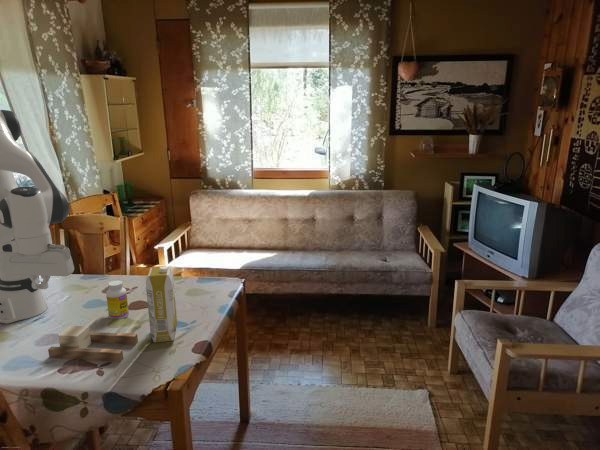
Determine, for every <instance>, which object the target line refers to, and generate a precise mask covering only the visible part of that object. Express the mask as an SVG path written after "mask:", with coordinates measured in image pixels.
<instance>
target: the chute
mask: <svg viewBox="0 0 600 450" xmlns="http://www.w3.org/2000/svg"><path fill="white" fill-rule="evenodd" d="M90 338H91V343H97V344H114V345H115V344H116V345H132V346H133V345H135V346H136V345H137V344H138V343H139V338H138V333H132V332H117V333H116V332H103V331H102V332H100V331H90ZM47 352H48V357H49V359H67V360H80V361H81V360H82V361H97V362H98V361H100V362H116V363H117V362H119V363H121V362H123V360H124V352H123V349H114V348H101V349H100V348H88V347H87V348H69V347H60V346H50V347H49V348H48V349H47Z"/></svg>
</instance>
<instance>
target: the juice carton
mask: <svg viewBox="0 0 600 450" xmlns="http://www.w3.org/2000/svg"><path fill="white" fill-rule="evenodd" d="M174 280H175V279H174V274H173V271H172V268H171V266H165V265H163V266H160V267H159V266H158V267H151V268H149V271H148V275H147V276H146V281H145V290H146V301H147V311H148V319H149V322H148V323H149V329H150V330H149V331H150V336H151V339H152V342H153V343H163V342H164V343H165V342H172V341H174V340H175V339H176V338H175V337H176V332H177V326H178V325H177V324H178V318H177V317H178V316H177V314H178V313H177V305H176V292H175V281H174Z"/></svg>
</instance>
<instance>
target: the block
mask: <svg viewBox="0 0 600 450" xmlns="http://www.w3.org/2000/svg"><path fill="white" fill-rule="evenodd" d="M90 332H91V331H90V327H89V326H86V325H69V326H68V327H67V328H66V329H64V330H63V331H62V332H61V333H59V334H58V343H59V347H69V348H87V349H88V348H89V347H90V346H91V345H92V342H91V338H90Z"/></svg>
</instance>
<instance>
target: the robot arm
mask: <svg viewBox="0 0 600 450" xmlns="http://www.w3.org/2000/svg"><path fill="white" fill-rule="evenodd" d="M21 135H22V123H21V121H20V119H19V117H18V115H17V114H16V113H15V112H14V111H12V110H7V109H0V323H2V324H11V323H14V322H17V321H21V320H22V321H23V320H26V319H30V318H34V317H35V316H39V315H41V314H42V313H44V312H46V311H47V309H48V308H49V307H48V304H47V302H46V300H45V298H44V295H43V292H42V290H47V289H48V288H49V283H48V282H49V281H50V278H51V277H66V278H67V277H68V276H70V275H71V274H73V273H74V271H75V265H74V262H73V258H72V256H71V250H70V248H69V247H68V246H66V245H64V244H53V240H52V235H51V234H52V233H51V229H50V225H52V224H62V223H63V221H65V219H66V218H67V217H68V215H69V214H70V211H71V209H70V204H69V201H68V200H67V197H66V195H64V194H63V192H61V190H59V188H58V187H57V186H56V184H55V183H54V181H53V179H51V177H50V175H49V174H48V173H47V171H46V169H45V168H44V166H43V165H42V164H41V162H40V161H39V160H38V158H37V157H36V155H34V154H33V153H32V152H31V151H29V150H27V149H25V148H23V147H21V146H20V145H19V143H17V142H16V141H17V140H18V139H19V138H20V137H21ZM14 173H17V174H20V175H24V176H26V177H28V178H29V179H30V180H31V182H32V183H33V185H34V186H30V185H29V186H19V185H18V183H17V181H16V179H15V175H14ZM39 276H40V277H39ZM40 279H41V280H42V281H41V280H40Z"/></svg>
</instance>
